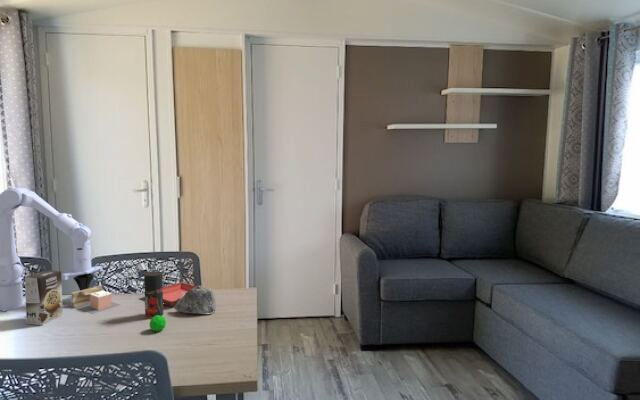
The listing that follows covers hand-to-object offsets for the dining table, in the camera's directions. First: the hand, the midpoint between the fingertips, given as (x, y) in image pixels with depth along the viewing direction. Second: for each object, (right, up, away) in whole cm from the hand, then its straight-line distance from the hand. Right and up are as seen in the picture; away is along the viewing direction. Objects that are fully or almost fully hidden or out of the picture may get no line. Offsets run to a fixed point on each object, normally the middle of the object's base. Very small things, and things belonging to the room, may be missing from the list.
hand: (83, 293), depth 166 cm
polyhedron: (+37, -7, -24) cm, 45 cm away
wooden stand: (+3, -3, -1) cm, 4 cm away
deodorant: (+31, -5, -11) cm, 33 cm away
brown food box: (-4, -5, -17) cm, 18 cm away
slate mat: (+2, -4, -1) cm, 4 cm away
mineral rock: (+45, -5, -7) cm, 46 cm away
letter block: (+9, +1, -6) cm, 11 cm away
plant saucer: (+33, -4, +7) cm, 34 cm away
